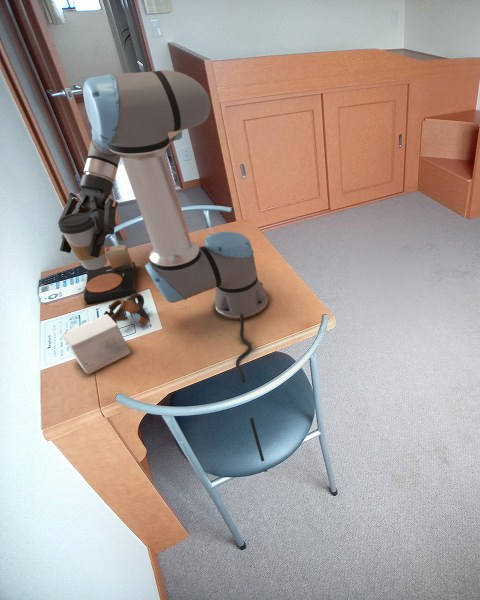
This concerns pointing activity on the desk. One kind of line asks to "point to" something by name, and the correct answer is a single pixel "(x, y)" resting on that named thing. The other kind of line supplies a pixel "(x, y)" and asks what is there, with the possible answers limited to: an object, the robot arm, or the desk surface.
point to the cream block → (119, 257)
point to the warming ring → (104, 283)
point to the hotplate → (120, 291)
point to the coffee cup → (82, 239)
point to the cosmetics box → (96, 343)
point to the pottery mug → (128, 309)
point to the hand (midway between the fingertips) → (79, 254)
